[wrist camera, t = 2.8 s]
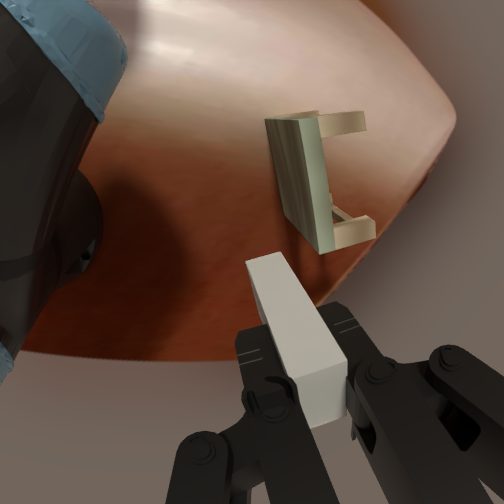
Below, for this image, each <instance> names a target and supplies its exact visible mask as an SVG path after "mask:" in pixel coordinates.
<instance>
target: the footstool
mask: <svg viewBox="0 0 504 504" xmlns="http://www.w3.org/2000/svg"><path fill="white" fill-rule="evenodd" d="M265 123H266V128H267V133H268V137H269V142H270V147H271V152H272V157H273V162H274V167H275V172H276V177H277V182H278V187H279V192H280V198H281V203H282V208H283V214H284V215H285V216H286V217H287V219H288V220H289V221H290V222H291V223H292V224H293V225H294V226H295V227H296V229H297V230H298V231H299V232H300V233H301V234H302V235H303V236H304V238H305V239H306V240H307V241H308V242H309V243H310V244H311V245H312V247H313V248H314V249H315V250H316V251H317V252H318V253H319V255H320V254H323V253H327V252H330V251H334V250H337V249H340V248H344V247H347V246H350V245H354V244H357V243H360V242H364V241H367V240H370V239H374V238H376V232H375V221H374V220H372V219H371V218H369V217H368V216H362V217H358V218H354V219H353V218H352V217H350V216H349V215H348V214H346V213H345V212H343V211H342V210H340V209H339V208H337V207H336V206H334V205H333V203H332V195H331V193H329V186H328V179H327V172H326V165H325V159H324V152H323V146H322V140H321V138H323V137H329V136H335V135H341V134H348V133H354V132H361V131H367V130H366V123H365V116H364V111H348V112H340V113H332V114H325V115H319V111H307V112H301V113H295V114H289V115H283V116H278V117H273V118H267V119H265ZM332 218H334V219H335V220H336V221H338V222H339V223H336V224H333V219H332Z"/></svg>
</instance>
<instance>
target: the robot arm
mask: <svg viewBox="0 0 504 504" xmlns="http://www.w3.org/2000/svg"><path fill="white" fill-rule="evenodd" d="M126 65H127V51H126V46H125V44H124V42H123V40H122V38H121V36H120V34H119V33H118V32H117V30H116V29H115V28H114V27H113V25H112V24H111V23H110V22H109V21H108V20H107V19H106V18H105V17H104V16H103V15H102V14H101V13H100V12H99V11H98V10H97V9H95V8H94V7H93V6H92V5H91V4H89V3H88V2H87V1H86V0H0V385H1V384H2V382H3V380H4V378H5V377H6V375H7V373H8V372H11V371H12V369H13V367H14V360H15V358H16V356H17V354H18V352H19V350H20V348H21V346H22V345H23V343H24V341H25V339H26V337H27V335H28V334H29V332H30V330H31V328H32V326H33V325H34V323H35V321H36V319H37V318H38V316H39V314H40V313H41V311H42V309H43V308H44V306H45V304H46V303H47V301H48V299H49V298H50V296H51V294H52V293H53V291H55V290H57V289H58V288H60V287H62V286H64V285H66V284H68V283H70V282H72V281H74V280H75V279H77V278H78V277H79V276H80V275H81V274H82V273H83V272H84V271H85V270H86V269H87V268H88V266H89V265H90V263H91V261H92V260H93V258H94V256H95V255H96V253H97V251H98V248H99V246H100V242H101V238H102V230H103V219H102V212H101V207H100V204H99V200H98V198H97V195H96V193H95V191H94V189H93V187H92V186H91V184H90V182H89V181H88V180H87V178H86V177H85V176H84V175H83V174H82V173H81V172H80V171H79V170H78V167H79V164H80V162H81V160H82V157H83V155H84V153H85V151H86V149H87V147H88V144H89V142H90V140H91V138H92V136H93V134H94V132H95V130H96V128H97V126H98V124H102V122H103V120H104V116H105V114H104V110H105V108H106V106H107V104H108V102H109V100H110V98H111V96H112V94H113V92H114V90H115V88H116V86H117V84H118V83H119V81H120V79H121V77H122V75H123V73H124V71H125V68H126ZM246 265H247V269H248V273H249V277H250V281H251V285H252V289H253V293H254V296H255V300H256V304H257V308H258V312H259V315H260V318H261V321H262V324H263V325H260V326H257V327H253V328H250V329H246V330H242V331H239V332H238V334H237V337H236V340H235V348H236V352H237V356H238V362H239V365H240V371H241V375H242V380H243V384H244V389H243V391H242V399H241V400H242V403H243V405H244V408H245V410H246V412H245V413H244V415H243V417H242V418H241V419H240V420H239V421H238V423H236V424H234V425H233V426H231V427H230V428H228V429H226V430H224V431H222V432H220V433H219V434H216V433H215V432H209V431H201V432H196V433H193V434H191V435H189V436H187V437H186V438H185V439H184V440H183V441H182V442H181V443H180V445H179V447H178V450H177V452H176V457H175V461H174V466H173V470H172V475H171V480H170V484H169V489H168V493H167V498H166V503H165V504H251V490H252V488H253V487H255V486H256V485H258V484H260V483H262V482H264V481H265V485H266V489H267V493H268V496H269V500H270V504H340V503H339V501H338V498H337V496H336V493H335V491H334V488H333V486H332V483H331V481H330V478H329V476H328V473H327V471H326V468H325V466H324V463H323V461H322V459H321V456H320V453H319V450H318V448H317V445H316V443H315V440H314V438H313V435H312V433H311V430H310V428H314V427H316V426H319V425H323V424H325V423H328V422H331V421H334V420H336V419H339V418H342V417H344V416H346V415H347V409H348V411H349V413H350V415H351V417H352V431H351V437H352V440H355V439H356V436H357V438H358V440H359V443H360V445H361V447H362V449H363V451H364V453H365V455H366V457H367V459H368V461H369V463H370V465H371V467H372V469H373V471H374V474H375V475H376V478H377V480H378V482H379V484H380V486H381V488H382V490H383V492H384V494H385V496H386V499H387V501H388V503H389V504H493V502H492V500H491V499H490V497H489V496H488V494H487V492H486V490H485V489H484V487H483V486H482V484H481V482H480V481H479V479H480V480H481V481H482V482H483V483H484V484H486V485H487V486H488V487H489V488H490V489H491V490H492V491H493V492H495V493H496V494H497V495H498V496H499V497H500V498H501V499H503V500H504V377H503V376H502V375H501V374H499V373H498V372H497V371H495V370H493V369H492V368H490V367H489V366H488V365H486V364H485V363H484V362H482V361H481V360H479V359H478V358H476V357H475V356H473V355H472V354H470V353H469V352H468V351H466V350H465V349H463V348H460V347H459V346H456V345H443V346H440V347H439V348H437V349H435V350H434V351H433V352H432V354H431V355H430V357H429V360H426V361H421V362H415V363H407V364H401V363H397V362H396V361H395V360H394V359H391V358H388V357H384V356H383V355H382V354H381V353H380V351H379V350H378V349H377V347H376V346H375V344H374V343H373V342H372V340H371V339H370V338H369V336H368V335H367V334H366V332H365V331H364V329H363V328H362V327H361V326H360V324H359V323H358V321H357V320H356V319H355V318H354V316H353V315H352V313H351V312H350V311H349V309H348V308H347V307H345V306H343V305H342V304H339V303H338V302H332V303H329V304H326V305H323V306H320V307H316V308H315V306H314V305H313V303H312V301H311V300H310V298H309V296H308V295H307V293H306V292H305V290H304V288H303V287H302V285H301V284H300V282H299V280H298V279H297V277H296V276H295V274H294V272H293V271H292V269H291V268H290V266H289V264H288V263H287V261H286V260H285V258H284V257H283V255H282V253H281V252H277V253H273V254H269V255H266V256H262V257H259V258H255V259H251V260H248V261H246ZM477 477H478V478H479V479H478V478H477Z"/></svg>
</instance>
